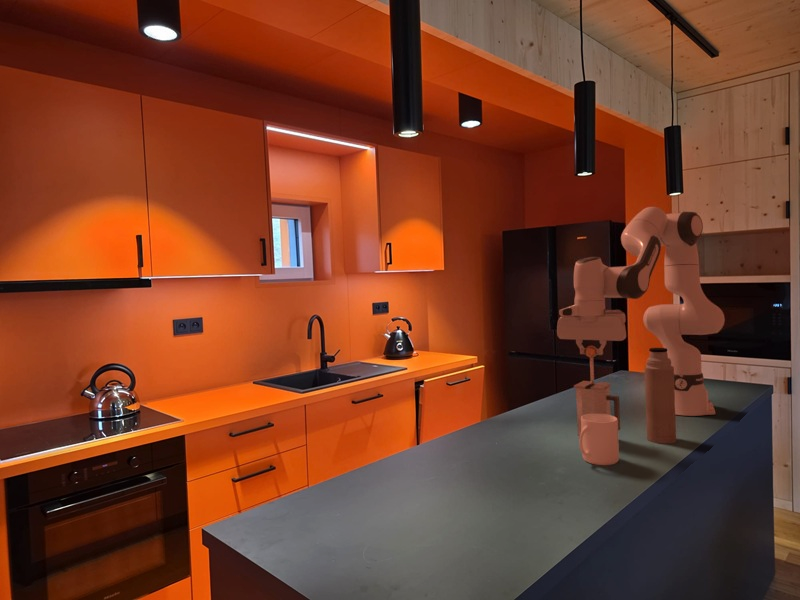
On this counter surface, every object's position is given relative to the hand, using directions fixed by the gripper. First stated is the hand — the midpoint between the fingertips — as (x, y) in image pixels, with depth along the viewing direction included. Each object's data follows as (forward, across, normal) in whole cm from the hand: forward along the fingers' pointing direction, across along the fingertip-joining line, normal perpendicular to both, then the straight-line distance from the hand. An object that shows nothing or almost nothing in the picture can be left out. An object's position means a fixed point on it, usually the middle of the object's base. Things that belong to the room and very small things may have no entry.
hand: (591, 354), depth 159 cm
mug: (+27, -7, +18) cm, 33 cm away
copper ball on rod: (+15, 0, 0) cm, 15 cm away
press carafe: (+26, -2, 0) cm, 27 cm away
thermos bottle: (+27, -17, -9) cm, 33 cm away
